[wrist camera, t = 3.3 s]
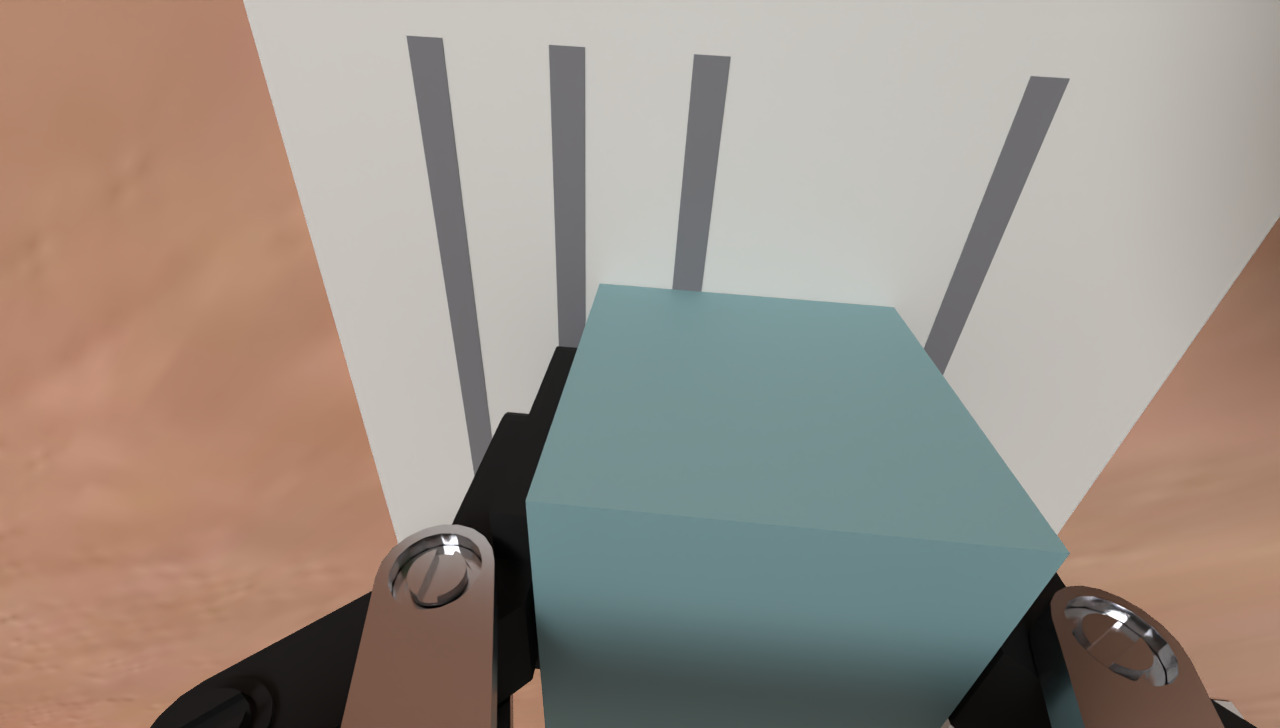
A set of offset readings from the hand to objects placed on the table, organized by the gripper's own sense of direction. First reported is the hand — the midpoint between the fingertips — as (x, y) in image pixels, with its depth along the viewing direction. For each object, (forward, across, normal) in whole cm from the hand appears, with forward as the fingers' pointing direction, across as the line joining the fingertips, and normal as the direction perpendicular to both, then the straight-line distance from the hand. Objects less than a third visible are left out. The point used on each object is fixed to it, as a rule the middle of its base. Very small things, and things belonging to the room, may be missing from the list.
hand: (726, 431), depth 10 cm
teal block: (+1, 0, 0) cm, 1 cm away
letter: (+1, 0, +1) cm, 1 cm away
